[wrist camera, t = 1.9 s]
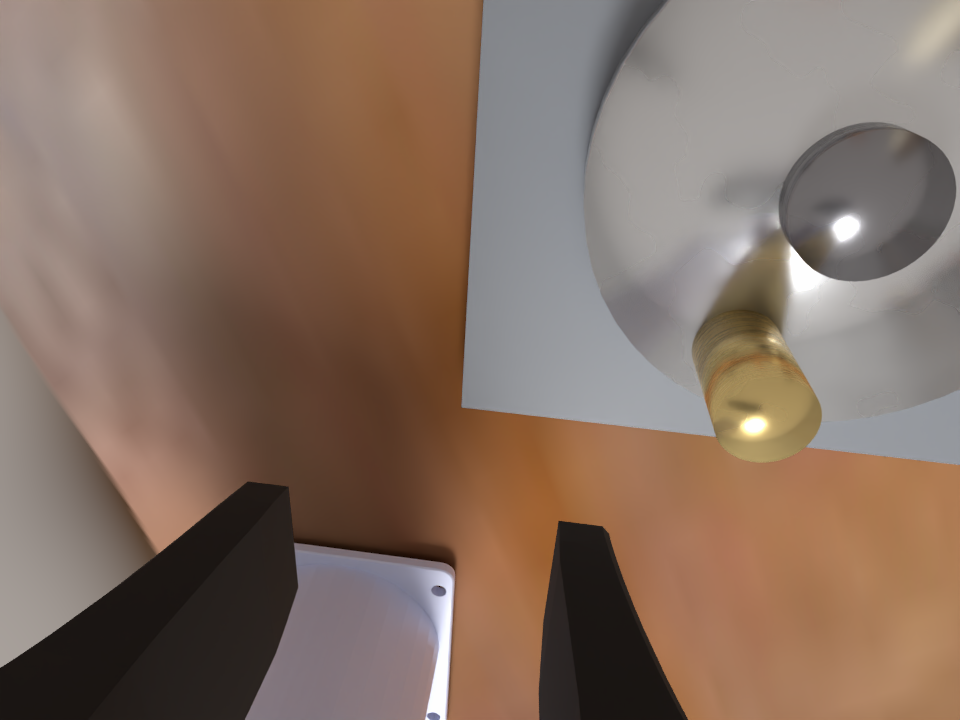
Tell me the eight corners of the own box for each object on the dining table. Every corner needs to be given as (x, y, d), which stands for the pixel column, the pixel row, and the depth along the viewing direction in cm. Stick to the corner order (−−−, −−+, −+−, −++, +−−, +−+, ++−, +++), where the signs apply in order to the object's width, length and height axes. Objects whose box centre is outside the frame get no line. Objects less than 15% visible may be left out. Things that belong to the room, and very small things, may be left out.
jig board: (1041, 450, 19) (1171, 582, 15) (467, 384, 20) (439, 491, 16) (1405, -190, 12) (1833, -273, 8) (503, -231, 13) (470, -322, 9)
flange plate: (1079, 432, 17) (1205, 548, 14) (557, 374, 18) (553, 469, 15) (1392, -97, 12) (1732, -125, 8) (625, -139, 13) (644, -181, 9)
